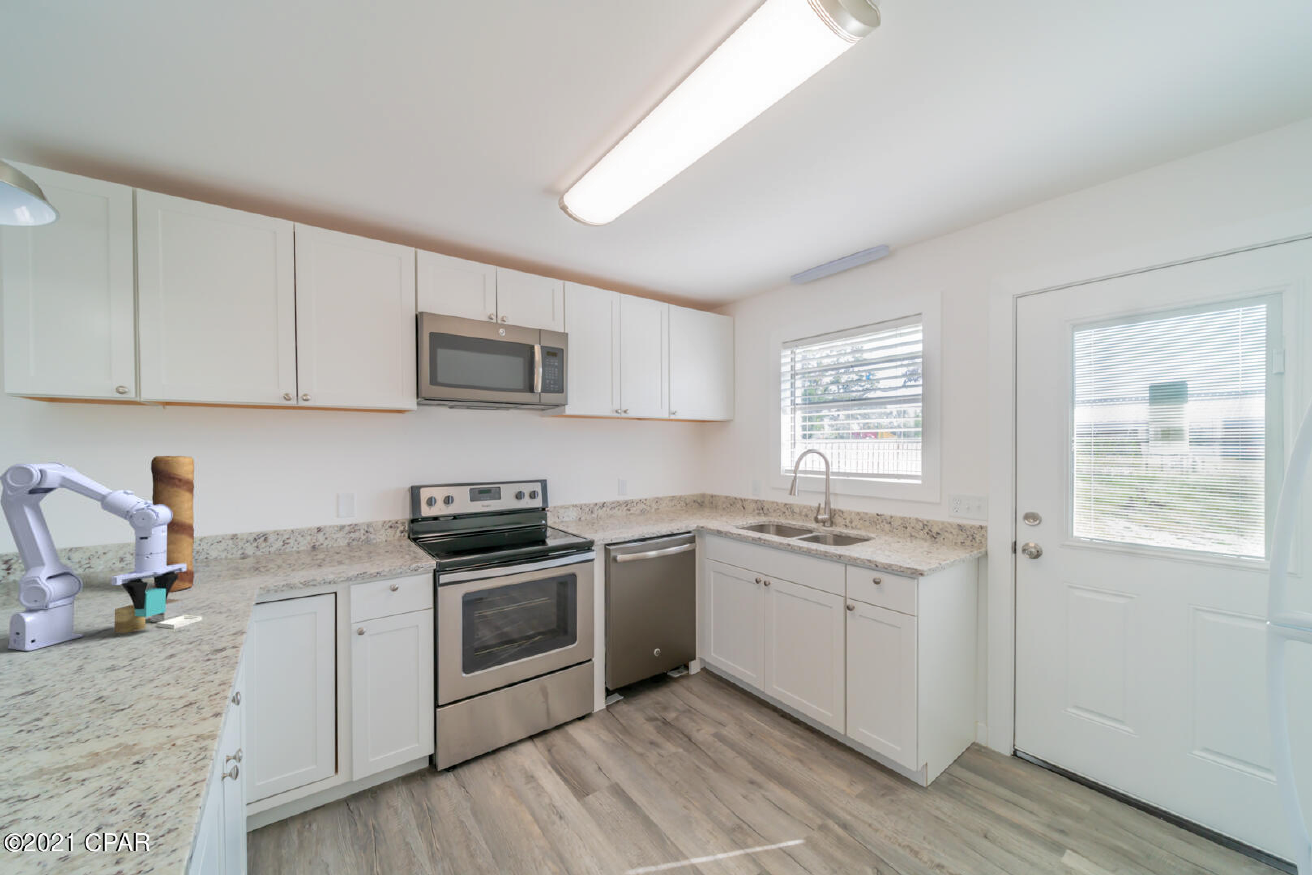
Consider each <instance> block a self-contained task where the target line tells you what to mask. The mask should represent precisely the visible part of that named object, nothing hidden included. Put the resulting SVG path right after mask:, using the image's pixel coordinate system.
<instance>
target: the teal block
mask: <svg viewBox="0 0 1312 875" xmlns="http://www.w3.org/2000/svg"><path fill="white" fill-rule="evenodd" d="M163 612H166V589H163V588H154V587H152V588H148V589H147V588H146V590H145V597H144V608H143V609H135V616H141V617H145V618H147V617H151V616H152V615H156V614H160V613H163Z"/></svg>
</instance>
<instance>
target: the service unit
mask: <svg viewBox="0 0 1312 875" xmlns="http://www.w3.org/2000/svg"><path fill="white" fill-rule="evenodd" d="M179 616H183V599H174V598H167V600H166V612H163V613H160V614H156V615H152V616H150V617H151V619H150V620H151V621H150V622H151V623H158V622H162V621H165V620H169V619H172V618H176V617H179Z"/></svg>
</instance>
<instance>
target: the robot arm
mask: <svg viewBox="0 0 1312 875" xmlns="http://www.w3.org/2000/svg"><path fill="white" fill-rule="evenodd" d="M0 484H1V486H2V491H1V495H0V505H1V508H2V511H3V514H4V516H5V519H6V521H7V524H8V527H9V530H10V533H11V534H12V537H13V540H14V543H15V545H16V548H17V551H18V554H19V556H20V559H21V562H22V564H23V566H24V569H25V572H24V574H23V575H22V576H21V578H19V580H18V581H17V586H18V594H17V600H18V603H19V604H20V605H21V606H22V607H23V608H25V609H24V610H23V611H20V612H16V613H14V614H13V615H12V616H11V617H10V620H9V645H8V646H7V647H6V648H7V649H9V650H18V651H24V652H32V651H35V650H38V649H42V648H46V647H50V646H53V645H57V644H60V643H64V642H68V641H71V640H75V639H79V638H82V637H84V634H83V633H82V634H81V633H75V632H74V631H75V630H74V629H75V628H74V625H75V624H74V622H75V621H74V620H75V619H74V618H75V615H74V614H75V611H74V610H75V600H76V596H77V595H79V593H80V592H81V591H82V589H83V585H84V582H83V580H82V579H81V577H79V576H78V575H77V574H76V573H75V572H74V569H73V568H72V567H71V566H70V565H69V564H68V565H67V564H65V563H63V562H61V559H60V556H59V554H58V552H57V548H56V545H55V543H54V541H53V538H52V535H51V532H50V529H49V527H48V524H47V522H46V518H45V516H44V513H43V511H42V508H41V505H40V502H41V501H43V499H45V497H46V496H47V495H49V494H50V493H52V492H54V491H56V490H57V489H59V488H61V489H62V488H63V489H66V490H69V491H72V492H74V493H77V494H80V495H82V496H84V497H86V498H89V499H91V500H94V501H97V502H99V503H100V507H101V509H102V510H104V511H106V512H108V513H110V514H113V515H115V516H117V517H119V518H122V519H124V520H126V521H127V522H128V523H129V525H130V527H131V528H132V529H133V530H134V535H135V536H134V537H135V538H134V539H135V540H134V541H135V545H134V571H131V572H130V571H129V572H127V573H122V574H119V575H115V576H111V577H110V579H111V580H110V582H111V583H110V584H111V586H120V585H121V586H122V587H123V589H124V590H126V593H127V594H128V595H129V598H130V599H131V601H132V603H133V604H132V605H134V608H135V609H143V608H144V597H145V590H147V587H148V582H147V581H144V580H146V579H151V578H153V581H154V580H155V584H156V588H163V589H166V600H167V599H168V596H169V594H170V593H169V591H170V589H171V587H172V586H173V584H174V582H175V581H176V580H177V578H178V574H175V573H176V572H183V571H186V568H187V564H182V563H181V564H175V565H169V566H167V524H168V523H169V522H170V521H171V520H172V517H173V514H172V511H171V510H170V509H169V508H168V507H166V506H165V505H161V504H159V505H153V501H151V500H145V499H143V498H140V497H139V496H136V495H135V494H134V493H135V492H134V491H131V490H130V489H128V490H123V489H119V490H112V489H110V488H109V487H107V486H104V485H103V484H100V483H99V482H97V481H95V480H93V479H91V478H89V477H87V476H85V475H83V474H81V473H80V472H78V470H76V469H75V468H74V467H71V466H67V465H66V464H64V463H61V462H56V461H54V462H48V463H47V462H44V463H42V462H40V463H39V462H38V463H26V462H22V463H17V464H13V465H11V466H10V467H8V468H7V469H6V470H5V472H4V473H2V474H1V475H0Z"/></svg>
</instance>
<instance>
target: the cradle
mask: <svg viewBox="0 0 1312 875" xmlns="http://www.w3.org/2000/svg"><path fill="white" fill-rule="evenodd" d="M200 621H203V616H198V615H191V614H190V615H189V614H182V616H179V617H176V618H172V619H169V620H165V621H162V622H156V627H157V628H165V629H173V630H175V629H177V628H181V627H184V626H187V625H191V624H195V623H198V622H200Z"/></svg>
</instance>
